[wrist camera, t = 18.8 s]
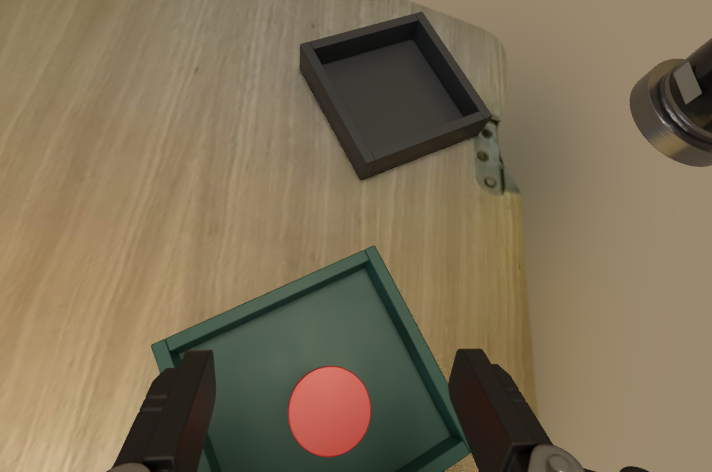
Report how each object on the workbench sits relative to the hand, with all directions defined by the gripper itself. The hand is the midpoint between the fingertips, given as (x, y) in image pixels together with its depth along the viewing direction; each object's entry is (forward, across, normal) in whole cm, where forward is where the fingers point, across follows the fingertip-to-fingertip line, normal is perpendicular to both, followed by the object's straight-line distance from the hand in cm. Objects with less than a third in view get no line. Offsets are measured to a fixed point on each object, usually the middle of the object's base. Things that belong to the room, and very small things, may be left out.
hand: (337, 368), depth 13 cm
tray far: (+25, -6, -6) cm, 26 cm away
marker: (+8, 0, +10) cm, 13 cm away
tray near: (+8, 0, +10) cm, 13 cm away
